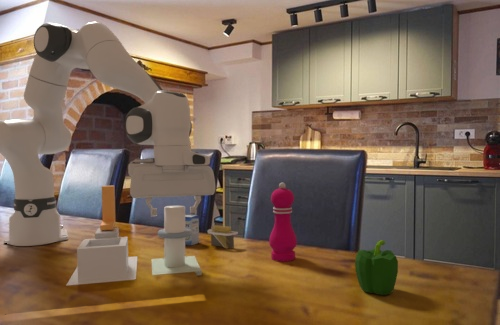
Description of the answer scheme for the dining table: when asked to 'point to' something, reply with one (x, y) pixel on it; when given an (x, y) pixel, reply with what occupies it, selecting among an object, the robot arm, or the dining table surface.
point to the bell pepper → (376, 270)
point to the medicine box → (192, 229)
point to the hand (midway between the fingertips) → (173, 215)
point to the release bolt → (108, 208)
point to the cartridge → (174, 236)
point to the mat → (189, 266)
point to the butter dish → (222, 236)
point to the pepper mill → (282, 226)
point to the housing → (104, 259)
